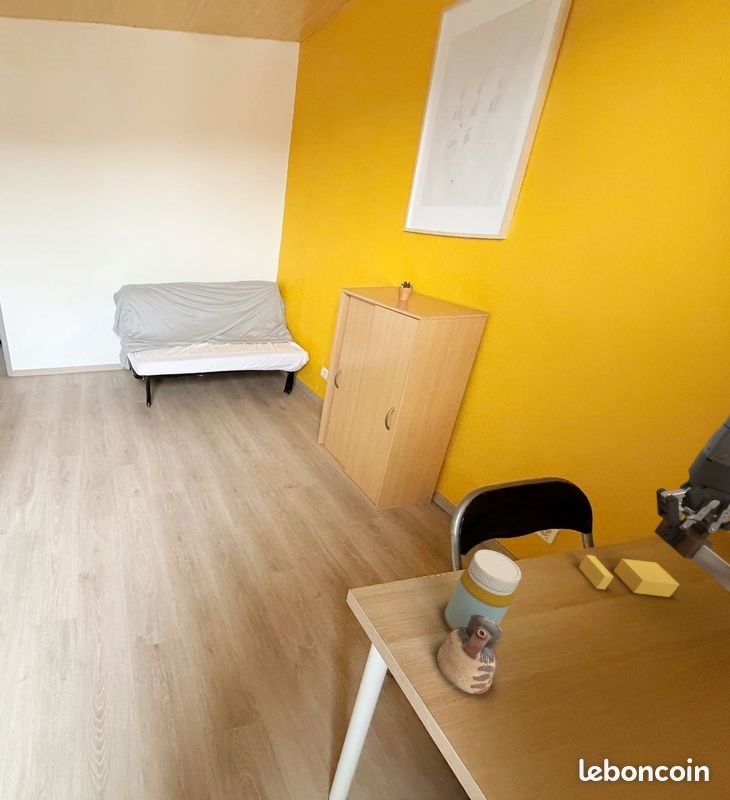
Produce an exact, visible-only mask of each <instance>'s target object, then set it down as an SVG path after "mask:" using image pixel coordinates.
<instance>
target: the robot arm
mask: <svg viewBox="0 0 730 800" xmlns="http://www.w3.org/2000/svg"><path fill="white" fill-rule="evenodd" d="M687 471H688V479H687V480H686V481H685V482H683V483H682V484H680V486H679V488H676V489H673V490H667V489H666V488H664V487H661V488H658V489H657V490H656V491H655V493H656V494H655V495H656V509H657V515H658V516H659V517H660V518H662V519H665V520H666V521H667V522H668V524H667V525H666V526H665V528H664V529H663V531H662V532H661V535H660V536H661V537H660V536H659V537H660V539H661V540H662V541H664V542H665V543H666V544H667V545H668V546H670V545H672V546H676V545H677V544H678V543H679V541H680V540H681V539H682V537H683V536H684V535H685V533H687V531H688V530H687V529H688V528H689V527H690V526H691V527H693V528H694V529H695V530H696V531H698V532H699V533H700V534H701V535H703V536H704V537H705V538H707V539H708V537H709V536H710V535H711V534H714V533H716V532H718V530H723V531H724V532H730V412H729V413H728V414H727V416H726V417H725V419H724V420H723V421H722V423H721V424H720V425H719V427H717V428H716V429H715V431H713V432H712V434H711V435H710V437H708V439H707V441H706V443H705V444H704V445H703V446H702V448H701V450H700V451H699V452H698V454H697V456H696V457H695V458H694V459H693V461H692V462H691V465H690V466H689V467H688V469H687ZM682 516H684V518H682Z"/></svg>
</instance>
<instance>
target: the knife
mask: <svg viewBox="0 0 730 800" xmlns="http://www.w3.org/2000/svg"><path fill="white" fill-rule="evenodd" d="M667 524H668V522H667V521H666V520H665V519H663V518H662V520H661V521H660V522H659V524H658V525H657V526H656V528H655V530H654V531H653V532H654V533H655V534H656V535H657V536H658V537H659V538H661V536H660V535H661V532H662V531H663V529H664V528H665V526H666V525H667ZM687 530H688V531H687V533H685V535H684V536H683V537H682V539H681V540H680V541H679V543H678V544H677V545H676V546H672V545H669V546H670V547H671V548H672V549H673V550H674V551H675V552H676V553H678V554H679V555H680V556H681V557H682V558H683V559H686V560H687V559H688V560H692V561H693V562H694V563H695V564H696V565H697V566H698V567H699V568H701V569H702V570H703V571H705V572H706V573H707V574H708V575H709V576H710V577H711V578H713V579H714V580H715V581H716V582H717V583H718V584H719V585H721V586H722V587H723V588H724V589H725V590H726V591H728V592H729V593H730V564H729V563H728V562H727V561H725V560H724V559H723V558H722V557H721V556H720V555H718V554H717V553H716V552H714V551H713V550H712V549H711V548H712V547H713V546H714V543H713V542H712V541H710V540H709V539H708V537H707V538H705V537H704V536H703V535H701V534H700V533H699V532H698V531H696V530H695V529H694V528H693V527H691V526H690V527H689V528H688V529H687Z"/></svg>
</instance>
